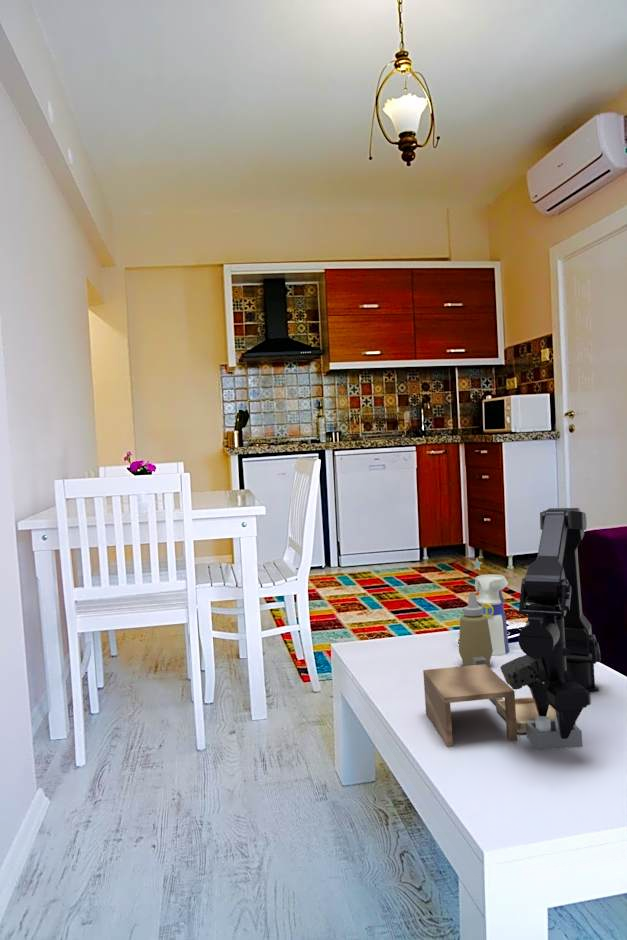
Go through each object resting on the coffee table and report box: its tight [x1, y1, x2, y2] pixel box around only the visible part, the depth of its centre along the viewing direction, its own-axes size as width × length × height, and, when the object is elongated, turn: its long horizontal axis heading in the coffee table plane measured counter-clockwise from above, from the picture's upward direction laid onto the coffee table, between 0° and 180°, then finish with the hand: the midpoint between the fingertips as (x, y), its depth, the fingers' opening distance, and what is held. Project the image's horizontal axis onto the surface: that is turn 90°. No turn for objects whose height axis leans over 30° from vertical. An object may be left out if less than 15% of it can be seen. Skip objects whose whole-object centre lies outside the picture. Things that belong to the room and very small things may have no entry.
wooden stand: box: [422, 664, 518, 748], centre depth 132 cm, size 13×16×9 cm
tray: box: [525, 716, 583, 751], centre depth 123 cm, size 8×6×4 cm
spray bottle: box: [471, 557, 510, 657], centre depth 177 cm, size 8×9×25 cm
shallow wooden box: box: [472, 657, 577, 734], centre depth 141 cm, size 11×27×6 cm, turn 5°
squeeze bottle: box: [458, 591, 493, 667], centre depth 167 cm, size 8×8×18 cm
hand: (553, 727), depth 123 cm, fingers open, 9 cm apart
